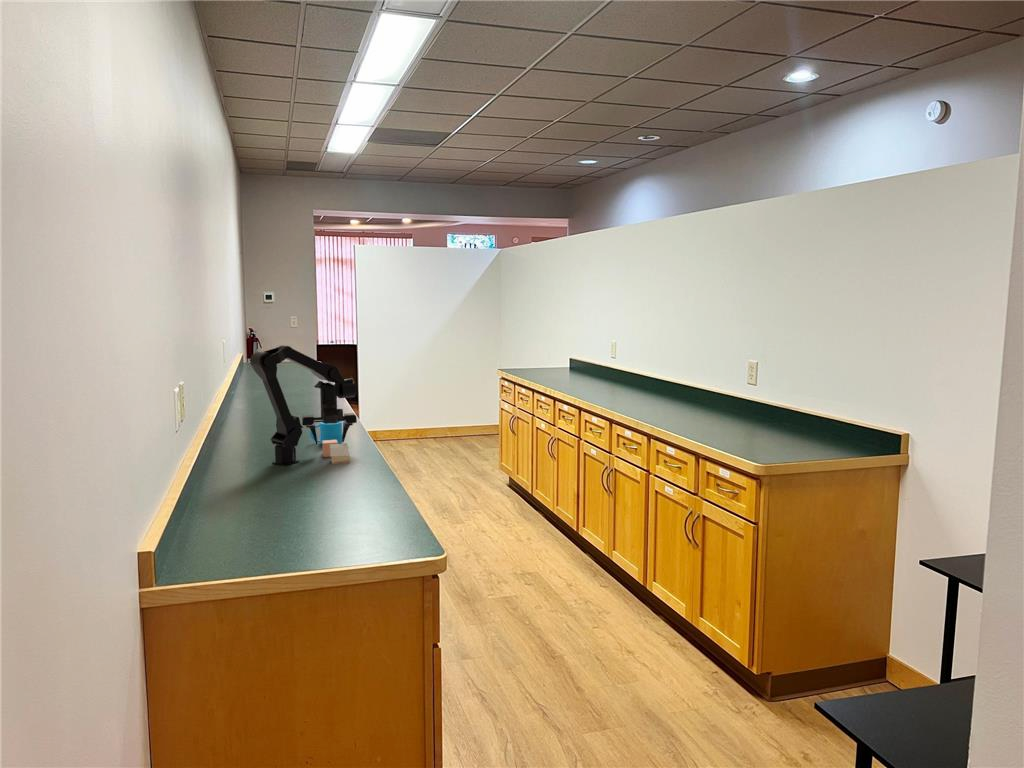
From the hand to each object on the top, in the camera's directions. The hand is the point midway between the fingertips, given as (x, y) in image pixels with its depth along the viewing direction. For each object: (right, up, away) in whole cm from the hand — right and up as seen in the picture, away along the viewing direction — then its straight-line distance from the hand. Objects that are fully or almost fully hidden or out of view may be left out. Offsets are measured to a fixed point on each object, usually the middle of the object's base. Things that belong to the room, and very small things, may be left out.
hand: (329, 442), depth 267 cm
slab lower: (+6, -6, -9) cm, 13 cm away
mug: (-6, -2, +21) cm, 22 cm away
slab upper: (+6, -3, -10) cm, 12 cm away
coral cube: (0, -4, +1) cm, 5 cm away
